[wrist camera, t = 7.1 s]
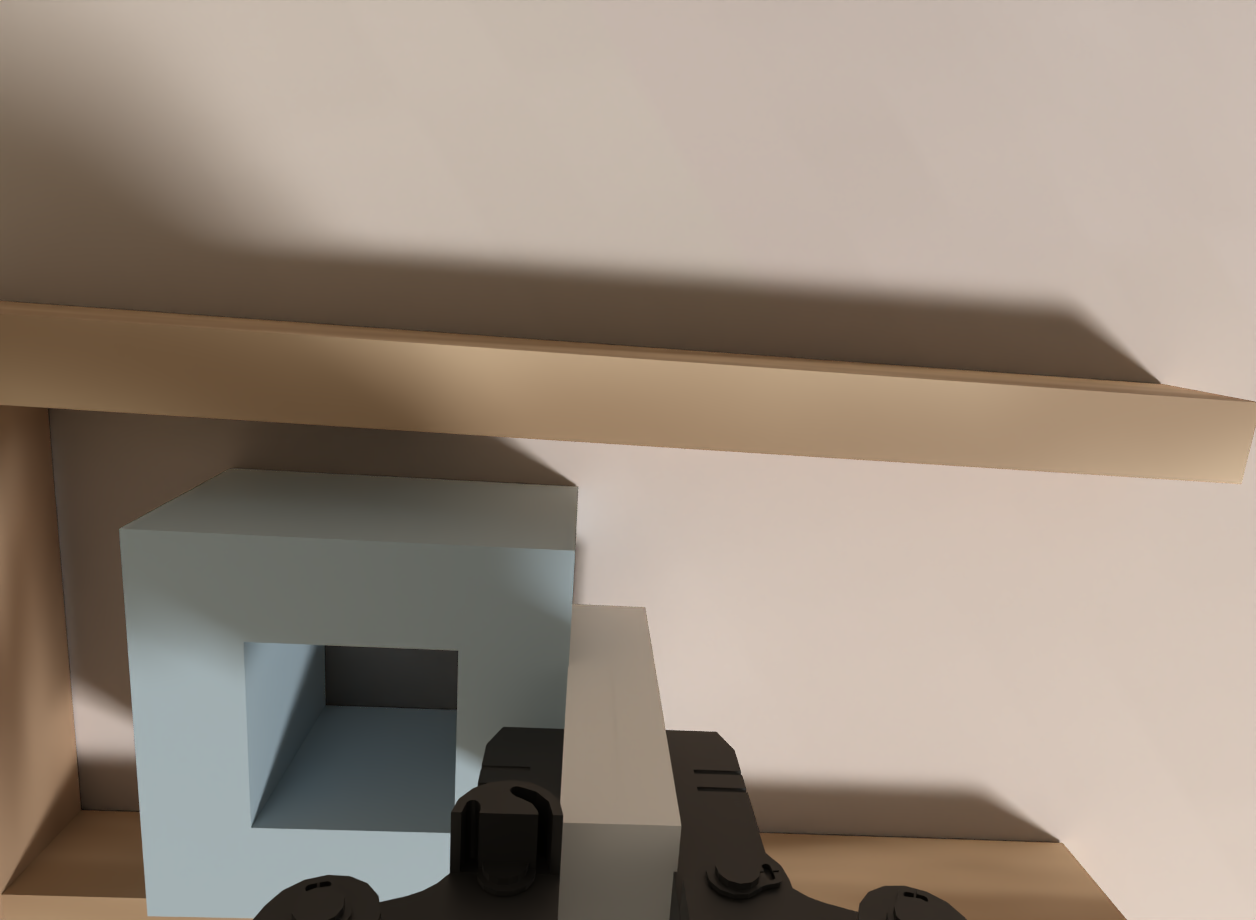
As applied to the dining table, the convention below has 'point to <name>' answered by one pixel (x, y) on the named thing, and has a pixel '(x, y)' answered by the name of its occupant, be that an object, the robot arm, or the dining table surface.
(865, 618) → the dining table surface
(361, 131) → the dining table surface
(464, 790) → the block
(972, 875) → the track
